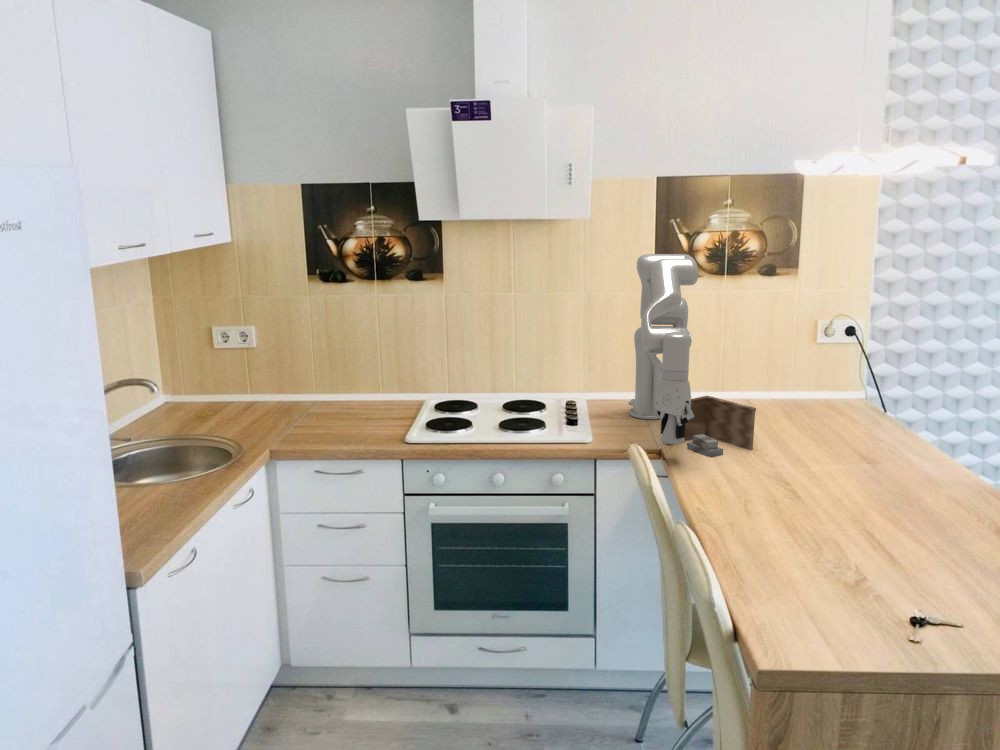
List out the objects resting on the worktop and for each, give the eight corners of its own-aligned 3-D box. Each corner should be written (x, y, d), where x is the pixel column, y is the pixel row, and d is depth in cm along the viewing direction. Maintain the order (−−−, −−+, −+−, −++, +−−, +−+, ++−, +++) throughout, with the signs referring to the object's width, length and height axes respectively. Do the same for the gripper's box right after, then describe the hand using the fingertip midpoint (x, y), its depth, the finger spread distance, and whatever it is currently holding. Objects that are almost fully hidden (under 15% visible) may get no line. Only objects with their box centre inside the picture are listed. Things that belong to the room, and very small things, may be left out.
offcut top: (692, 442, 263) (693, 435, 263) (702, 441, 264) (703, 434, 264) (707, 450, 256) (707, 442, 255) (717, 448, 257) (718, 441, 257)
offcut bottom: (687, 450, 263) (687, 443, 263) (698, 447, 266) (699, 440, 265) (711, 459, 255) (711, 451, 255) (722, 456, 258) (723, 448, 257)
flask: (685, 445, 247) (686, 412, 245) (659, 444, 248) (660, 411, 246) (684, 438, 254) (686, 406, 252) (660, 437, 255) (661, 404, 253)
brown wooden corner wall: (665, 444, 268) (666, 404, 265) (705, 434, 278) (707, 395, 275) (713, 460, 253) (715, 417, 250) (753, 449, 263) (756, 408, 260)
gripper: (644, 371, 252) (642, 431, 255) (688, 382, 238) (685, 444, 242) (662, 368, 256) (660, 427, 260) (706, 378, 242) (703, 440, 246)
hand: (672, 434), depth 251 cm, fingers closed on flask, 5 cm apart
